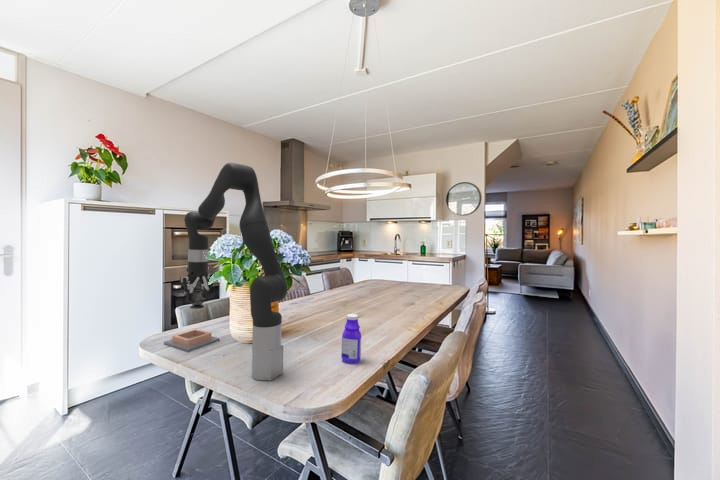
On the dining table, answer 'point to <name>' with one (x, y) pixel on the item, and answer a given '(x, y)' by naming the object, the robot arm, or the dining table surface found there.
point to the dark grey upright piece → (197, 297)
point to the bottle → (351, 340)
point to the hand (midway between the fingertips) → (197, 299)
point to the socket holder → (191, 340)
